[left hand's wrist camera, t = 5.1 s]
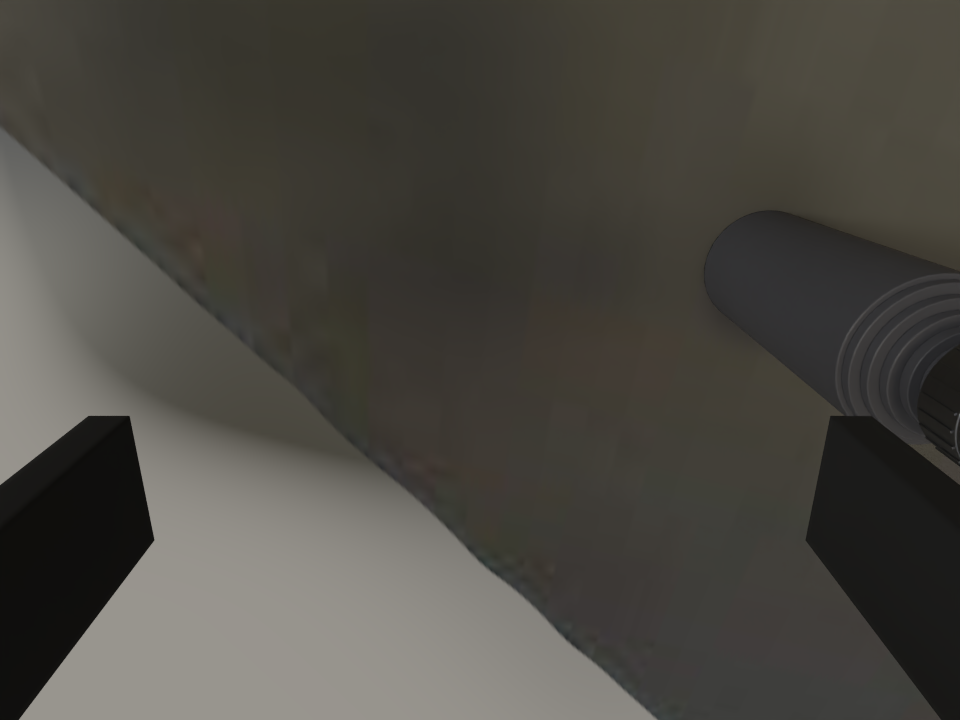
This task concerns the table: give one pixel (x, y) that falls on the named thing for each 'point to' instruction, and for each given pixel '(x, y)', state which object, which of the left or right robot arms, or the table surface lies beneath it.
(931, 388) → the cap
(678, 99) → the table surface
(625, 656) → the table surface
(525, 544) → the table surface
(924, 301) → the bottle
